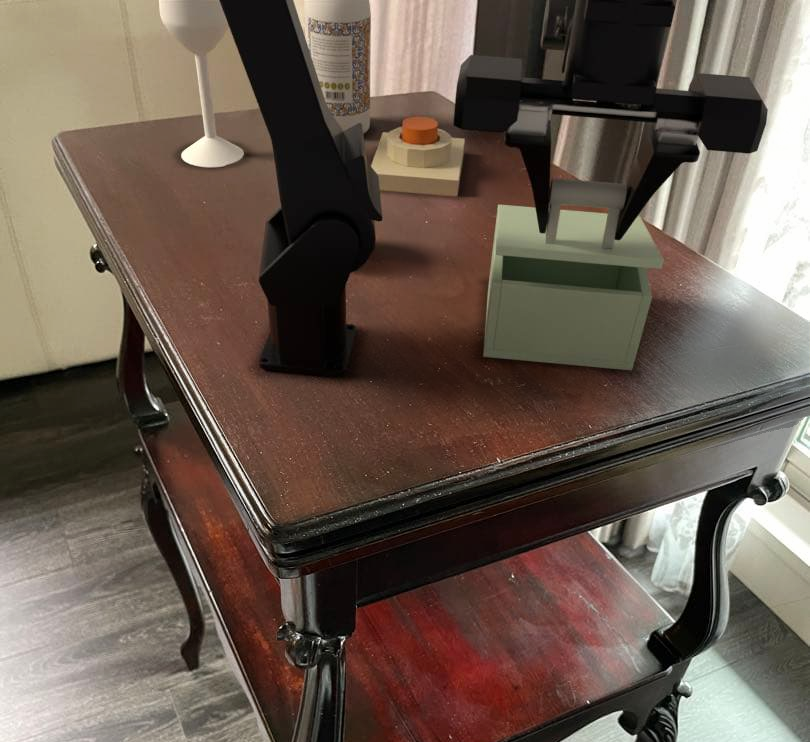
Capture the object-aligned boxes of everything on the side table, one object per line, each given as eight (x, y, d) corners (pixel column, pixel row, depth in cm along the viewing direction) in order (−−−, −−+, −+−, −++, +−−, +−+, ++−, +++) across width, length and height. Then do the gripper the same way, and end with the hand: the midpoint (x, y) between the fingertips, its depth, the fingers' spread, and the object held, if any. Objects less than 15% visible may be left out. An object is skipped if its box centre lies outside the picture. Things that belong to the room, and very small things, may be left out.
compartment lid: (662, 269, 57) (679, 194, 55) (495, 255, 58) (504, 179, 55) (638, 225, 67) (652, 159, 65) (497, 213, 68) (504, 147, 65)
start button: (435, 148, 85) (436, 130, 84) (400, 146, 85) (400, 128, 84) (438, 135, 87) (439, 117, 86) (404, 132, 87) (404, 115, 86)
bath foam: (376, 138, 94) (378, -80, 80) (315, 142, 93) (306, -79, 78) (362, 116, 99) (362, -94, 84) (304, 119, 97) (294, -94, 83)
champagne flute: (240, 168, 87) (211, -123, 70) (175, 166, 87) (129, -127, 70) (248, 143, 92) (223, -136, 75) (187, 141, 92) (147, -139, 74)
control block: (457, 197, 84) (460, 161, 82) (368, 189, 85) (368, 154, 82) (463, 154, 92) (466, 121, 89) (382, 148, 92) (382, 114, 90)
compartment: (631, 370, 64) (652, 297, 60) (483, 356, 65) (492, 283, 60) (621, 295, 72) (638, 225, 67) (488, 283, 72) (496, 213, 68)
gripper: (770, -48, 53) (698, 198, 64) (475, -70, 54) (454, 177, 65) (811, -4, 45) (721, 267, 56) (465, -30, 46) (443, 242, 57)
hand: (579, 234), depth 59 cm, fingers closed on compartment lid, 5 cm apart
